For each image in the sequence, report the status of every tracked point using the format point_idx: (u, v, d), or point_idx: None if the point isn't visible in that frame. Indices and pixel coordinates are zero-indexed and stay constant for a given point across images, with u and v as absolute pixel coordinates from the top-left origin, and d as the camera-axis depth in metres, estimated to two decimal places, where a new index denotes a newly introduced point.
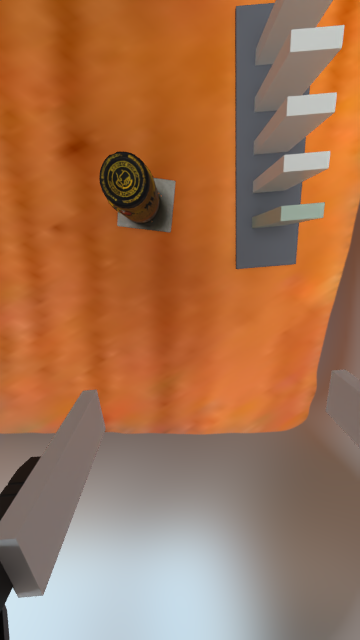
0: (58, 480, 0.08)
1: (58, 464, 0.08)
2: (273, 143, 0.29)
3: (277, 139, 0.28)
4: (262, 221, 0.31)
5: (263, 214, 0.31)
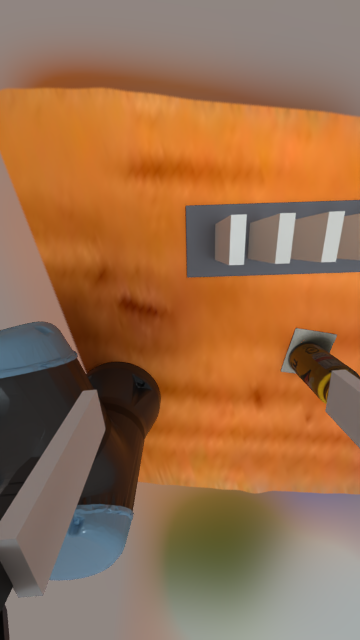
0: (58, 480, 0.08)
1: (58, 464, 0.08)
2: None
3: None
4: None
5: None
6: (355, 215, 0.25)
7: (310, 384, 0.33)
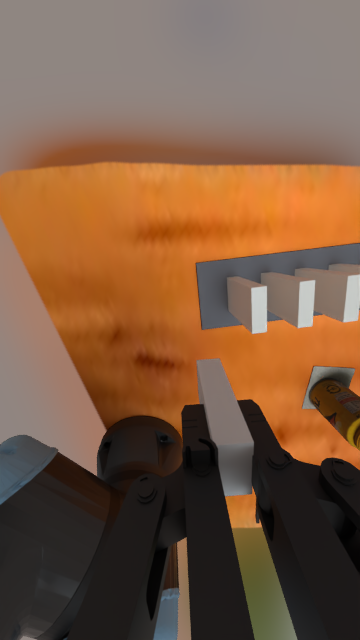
0: None
1: None
2: None
3: None
4: None
5: None
6: None
7: (337, 428, 0.33)
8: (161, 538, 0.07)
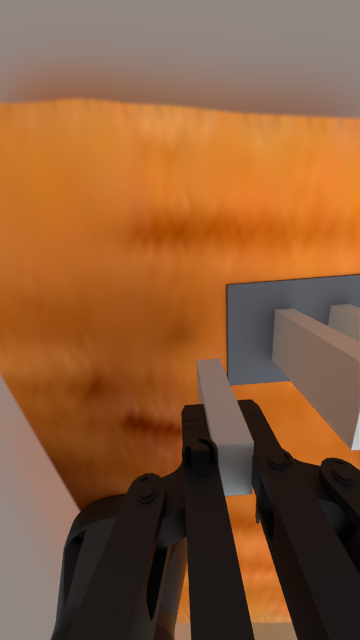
0: None
1: None
2: None
3: None
4: None
5: None
6: None
7: None
8: (161, 538, 0.07)
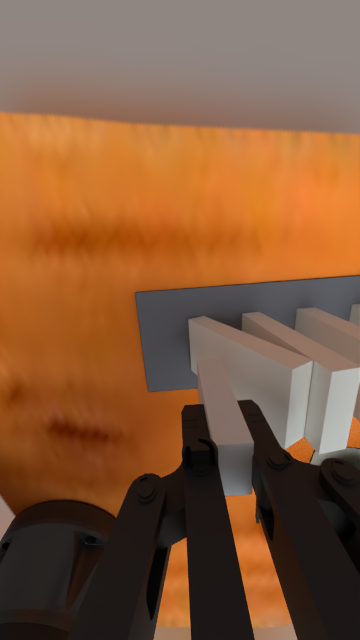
0: None
1: None
2: None
3: None
4: None
5: None
6: None
7: None
8: (161, 538, 0.07)
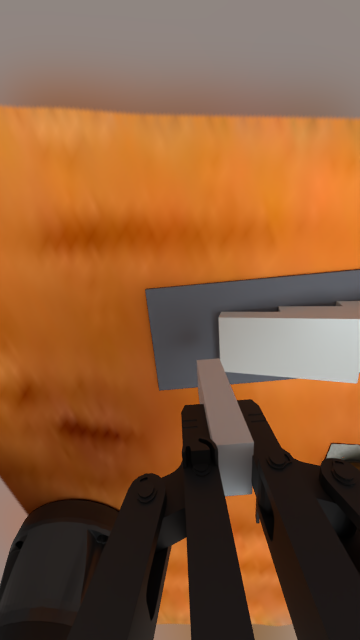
0: None
1: None
2: None
3: None
4: None
5: None
6: None
7: None
8: (161, 538, 0.07)
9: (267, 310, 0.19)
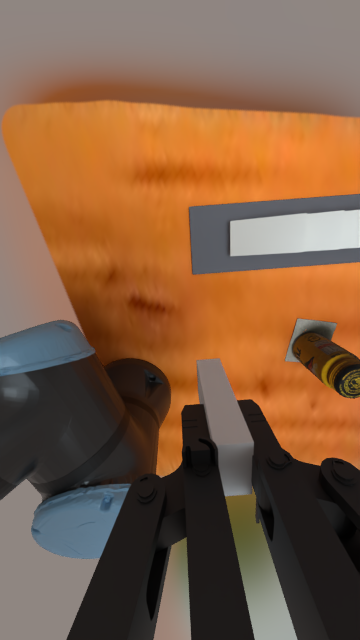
0: None
1: None
2: None
3: None
4: None
5: None
6: None
7: (314, 370, 0.35)
8: (161, 538, 0.07)
9: None
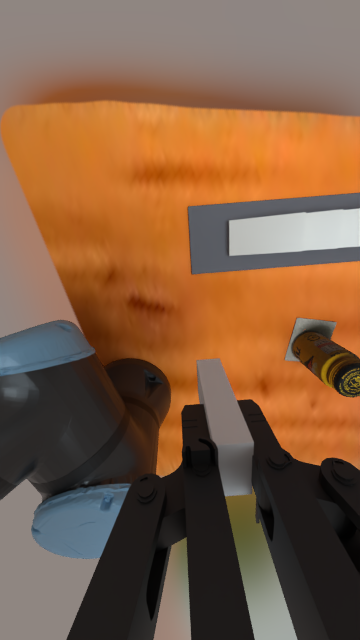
0: None
1: None
2: None
3: None
4: None
5: None
6: None
7: (313, 369, 0.35)
8: (161, 538, 0.07)
9: None
